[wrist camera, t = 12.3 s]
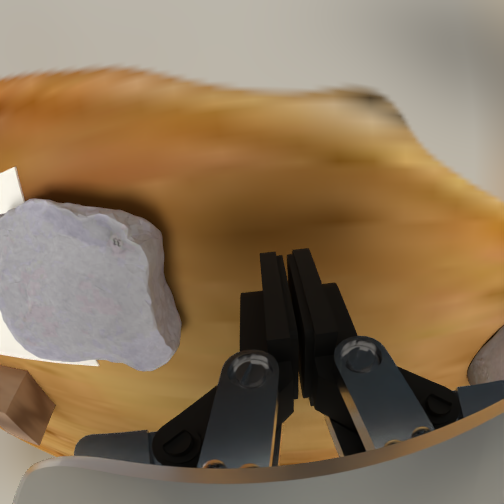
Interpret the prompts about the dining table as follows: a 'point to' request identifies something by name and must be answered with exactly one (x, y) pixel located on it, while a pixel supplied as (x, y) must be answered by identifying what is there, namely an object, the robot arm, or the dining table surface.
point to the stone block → (86, 285)
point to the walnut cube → (23, 405)
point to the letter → (3, 199)
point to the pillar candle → (488, 361)
